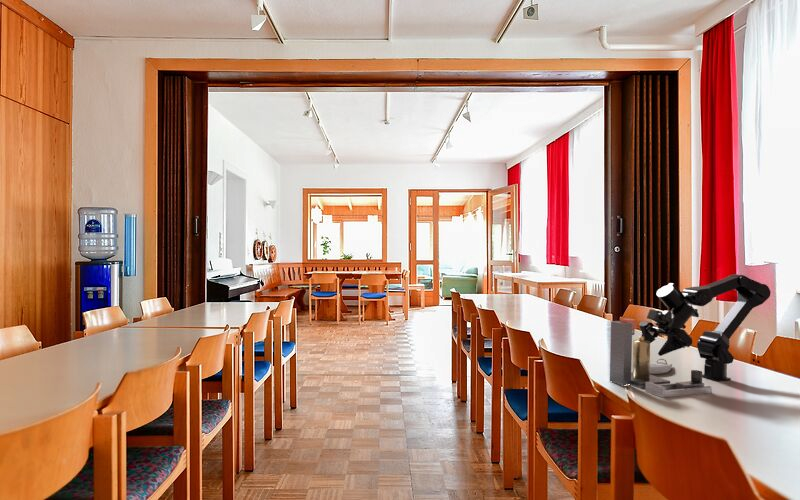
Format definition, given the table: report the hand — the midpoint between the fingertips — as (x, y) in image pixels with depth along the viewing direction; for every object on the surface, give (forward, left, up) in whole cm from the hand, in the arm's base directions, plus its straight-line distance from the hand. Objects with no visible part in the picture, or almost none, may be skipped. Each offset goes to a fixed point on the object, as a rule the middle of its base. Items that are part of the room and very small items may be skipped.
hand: (648, 351), depth 157 cm
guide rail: (0, +12, -10) cm, 15 cm away
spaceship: (-14, -10, -10) cm, 20 cm away
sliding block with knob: (-5, +12, -10) cm, 16 cm away
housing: (+3, 0, -8) cm, 9 cm away
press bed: (+5, 0, -10) cm, 11 cm away
